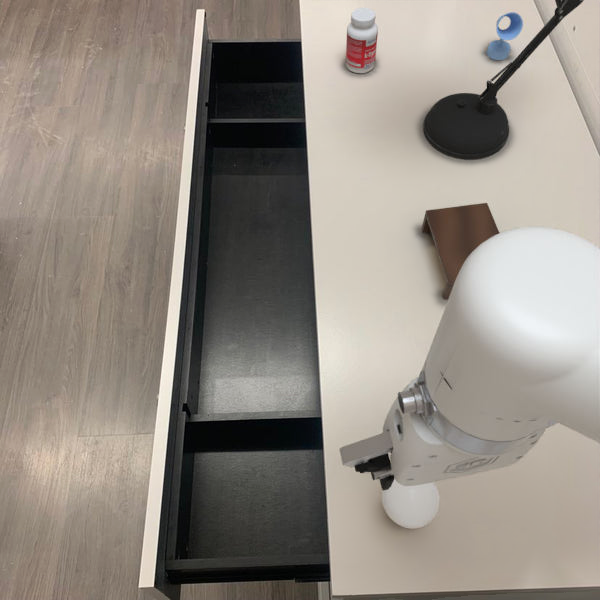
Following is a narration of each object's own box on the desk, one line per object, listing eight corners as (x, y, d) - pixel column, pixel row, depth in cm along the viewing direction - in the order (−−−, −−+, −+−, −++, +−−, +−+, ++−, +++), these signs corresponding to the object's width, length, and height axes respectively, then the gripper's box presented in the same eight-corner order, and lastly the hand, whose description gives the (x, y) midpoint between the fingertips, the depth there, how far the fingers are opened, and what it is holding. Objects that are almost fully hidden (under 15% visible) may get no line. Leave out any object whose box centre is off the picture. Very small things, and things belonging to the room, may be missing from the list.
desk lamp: (375, 158, 98) (406, -142, 59) (420, 75, 109) (470, -221, 71) (508, 196, 91) (639, -111, 53) (541, 104, 103) (667, -203, 65)
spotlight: (511, 65, 110) (508, 45, 113) (526, 18, 101) (523, -2, 105) (486, 64, 110) (484, 44, 114) (500, 18, 102) (497, -3, 105)
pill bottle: (366, 77, 110) (369, 26, 100) (340, 69, 112) (341, 18, 102) (380, 61, 112) (384, 10, 103) (354, 53, 114) (356, 1, 105)
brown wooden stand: (479, 221, 89) (487, 202, 85) (507, 291, 82) (516, 274, 77) (421, 229, 89) (425, 210, 84) (443, 299, 81) (449, 282, 77)
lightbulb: (399, 473, 68) (410, 449, 59) (438, 510, 66) (456, 491, 56) (365, 510, 66) (372, 491, 57) (405, 549, 64) (418, 537, 54)
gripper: (359, 479, 30) (349, 525, 45) (645, 421, 31) (544, 485, 46) (331, 361, 34) (330, 439, 49) (586, 313, 35) (510, 403, 50)
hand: (434, 461), depth 47 cm, fingers open, 9 cm apart
